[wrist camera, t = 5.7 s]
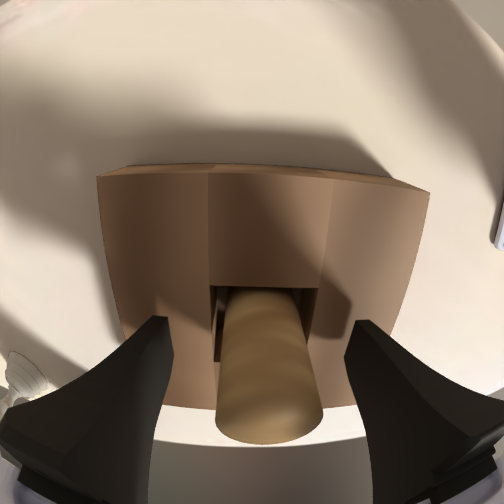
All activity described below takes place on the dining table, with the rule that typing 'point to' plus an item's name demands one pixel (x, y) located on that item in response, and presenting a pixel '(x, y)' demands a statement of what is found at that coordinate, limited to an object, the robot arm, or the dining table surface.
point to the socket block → (257, 257)
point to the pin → (265, 369)
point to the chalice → (21, 381)
